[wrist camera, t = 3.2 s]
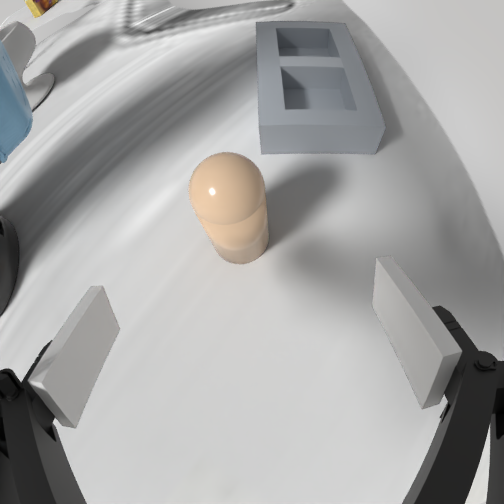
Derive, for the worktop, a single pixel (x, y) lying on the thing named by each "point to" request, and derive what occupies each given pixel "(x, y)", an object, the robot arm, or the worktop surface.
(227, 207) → the peach dome-topped cylinder
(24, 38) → the chalice
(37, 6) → the candy box
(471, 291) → the worktop surface
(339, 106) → the divided tray
